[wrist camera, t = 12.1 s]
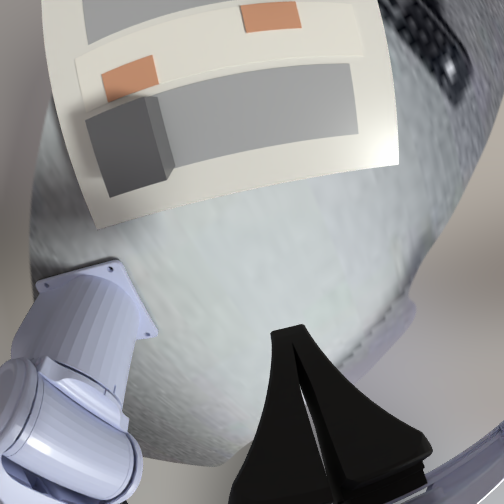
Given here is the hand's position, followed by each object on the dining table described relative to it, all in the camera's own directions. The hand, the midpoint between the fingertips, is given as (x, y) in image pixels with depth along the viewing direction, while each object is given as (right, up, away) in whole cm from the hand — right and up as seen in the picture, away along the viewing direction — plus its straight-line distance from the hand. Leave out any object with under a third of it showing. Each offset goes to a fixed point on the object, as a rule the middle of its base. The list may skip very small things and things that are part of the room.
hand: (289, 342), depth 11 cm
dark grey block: (-7, +10, +2) cm, 12 cm away
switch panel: (-4, +16, +1) cm, 16 cm away
